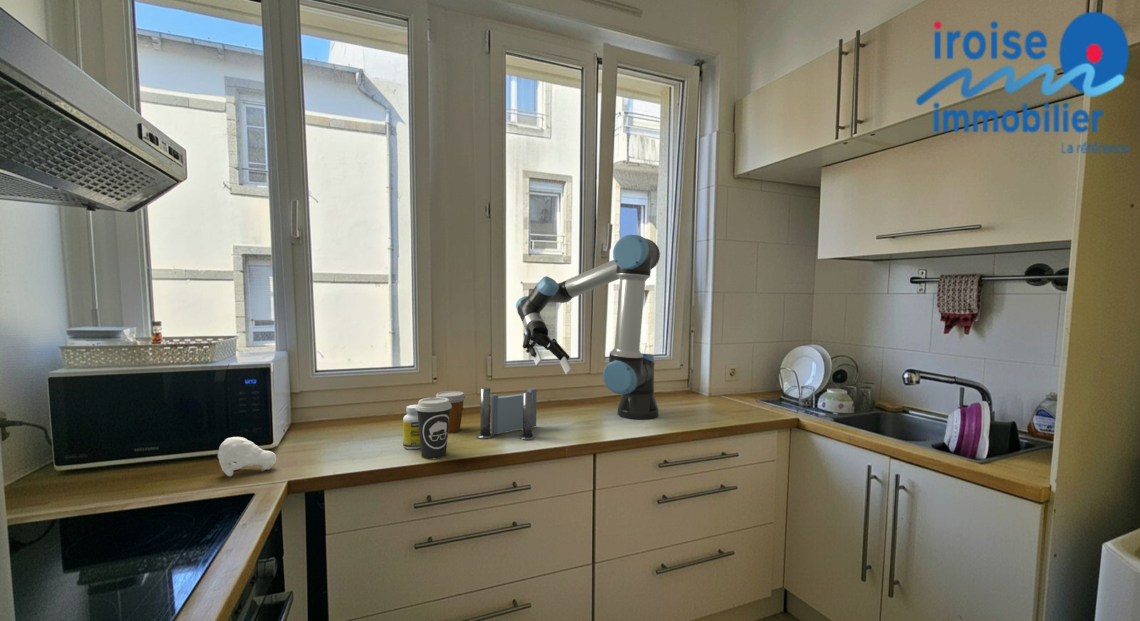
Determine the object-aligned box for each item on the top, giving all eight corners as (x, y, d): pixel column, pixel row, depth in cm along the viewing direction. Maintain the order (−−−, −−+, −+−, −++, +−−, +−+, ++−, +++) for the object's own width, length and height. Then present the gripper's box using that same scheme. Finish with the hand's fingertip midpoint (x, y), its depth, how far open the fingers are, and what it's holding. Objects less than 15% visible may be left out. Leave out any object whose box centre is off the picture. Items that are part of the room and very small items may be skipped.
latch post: (536, 435, 146) (536, 391, 146) (534, 440, 142) (534, 394, 141) (521, 435, 147) (521, 391, 146) (518, 440, 142) (518, 394, 142)
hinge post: (495, 434, 148) (495, 387, 147) (491, 439, 143) (491, 390, 142) (479, 434, 148) (479, 386, 148) (474, 438, 143) (475, 389, 142)
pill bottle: (404, 451, 131) (404, 409, 131) (401, 444, 137) (401, 405, 136) (428, 447, 134) (428, 407, 134) (424, 441, 140) (424, 403, 139)
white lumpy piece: (226, 434, 116) (281, 434, 120) (223, 468, 116) (278, 468, 120) (216, 441, 110) (274, 441, 114) (212, 477, 110) (270, 476, 114)
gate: (494, 434, 146) (494, 394, 146) (490, 432, 148) (490, 393, 147) (536, 426, 155) (536, 389, 155) (532, 424, 157) (532, 388, 157)
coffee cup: (456, 450, 132) (456, 397, 132) (444, 461, 123) (444, 404, 122) (424, 448, 133) (424, 396, 133) (409, 460, 124) (409, 403, 123)
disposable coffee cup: (470, 430, 152) (470, 393, 152) (445, 436, 145) (445, 397, 145) (454, 424, 159) (454, 389, 158) (429, 430, 152) (429, 393, 151)
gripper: (554, 343, 183) (573, 382, 168) (503, 325, 168) (519, 366, 153) (566, 329, 181) (586, 368, 166) (514, 310, 165) (532, 350, 150)
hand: (554, 367), depth 159 cm, fingers open, 13 cm apart
